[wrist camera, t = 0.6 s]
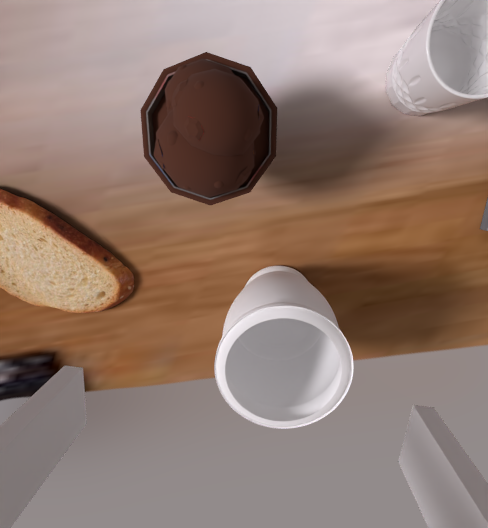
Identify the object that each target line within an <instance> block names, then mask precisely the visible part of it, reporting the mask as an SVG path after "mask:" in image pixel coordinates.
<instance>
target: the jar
mask: <svg viewBox="0 0 488 528" xmlns="http://www.w3.org/2000/svg"><path fill="white" fill-rule="evenodd" d="M352 377H353V356H352V352H351V349H350V346H349V344H348V342H347V340H346V338H345V336H344V335H343V333H342V332H341V330H340V329H339V326H338V323H337V320H336V317H335V315H334V312H333V310H332V308H331V306H330V305H329V303H328V302H327V300H326V299H325V297H324V296H323V295H322V294H321V293H320V292H319V291H318V290H317V289H316V288H315V287H314V286H313V285H312V284H310V283H309V282H308V280H307V279H306V278H305V277H304V276H303V275H302V274H301V273H300V272H298V271H297V270H295V269H293V268H290V267H286V266H270V267H267V268H264V269H262V270H260V271H258V272H257V273H255V274H254V275H253V276H252V277H251V278H250V279H249V281H248V282H247V284H246V285H245V287H244V289H243V290H242V291H241V292H240V294H239V295H238V296H237V297H236V299H235V300H234V302H233V304H232V305H231V307H230V309H229V312H228V314H227V317H226V320H225V324H224V329H223V336H222V339H221V341H220V343H219V345H218V348H217V352H216V357H215V378H216V382H217V385H218V388H219V390H220V392H221V394H222V396H223V398H224V399H225V401H226V402H227V403H228V404H229V406H230V407H232V409H233V410H234V411H236V412H237V413H238V414H239V415H241V416H242V417H244V418H245V419H247V420H249V421H251V422H253V423H256V424H259V425H262V426H266V427H271V428H280V429H281V428H282V429H285V428H286V429H287V428H296V427H301V426H305V425H308V424H311V423H313V422H316V421H318V420H320V419H321V418H323V417H325V416H326V415H328V414H329V413H330V412H332V411H333V410H334V409H335V408H336V407H337V406H338V405H339V404H340V402H341V401H342V400H343V398H344V397H345V395H346V394H347V392H348V389H349V387H350V384H351V381H352Z"/></svg>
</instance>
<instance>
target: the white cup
mask: <svg viewBox="0 0 488 528" xmlns="http://www.w3.org/2000/svg"><path fill="white" fill-rule="evenodd" d="M386 93H387V95H388V97H389V99H390V102H391V104H392V105H393V106H394V107H395V108H397V109H398V110H399V111H401V112H402V113H403V114H408V115H416V116H421V115H424V114H427V113H431V112H439V111H443V110H447V109H451V108H454V107H458V106H461V105H464V104H468V103H471V102H474V101H478V100H481V99H485V98H488V0H440V1H439V2H438V3H437V4H436V6H435V7H434V8H433V9H432V10H431V11H430V13H429V14H428V15H427V16H426V17H425V18H424V20H423V21H422V22H421V23H420V24H419V25H418V26H417V28H416V29H415V30H414V31H413V33H412V34H411V35H410V37H409V38H408V39H407V40H406V42H405V43H404V45H403V46H402V48H401V49H400V50H399V51H398V52H397V54H396V55H395V56H394V57H393V59H392V61H391V64H390V66H389V68H388V70H387V73H386Z"/></svg>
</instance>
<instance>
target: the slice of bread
mask: <svg viewBox="0 0 488 528" xmlns="http://www.w3.org/2000/svg"><path fill="white" fill-rule="evenodd" d="M0 288H2V289H4V290H5V291H7V292H8V293H9V294H11V295H13V296H16V297H18V298H20V299H21V300H23V301H26V302H28V303H31V304H33V305H36V306H51V307H54V308H58V309H61V310H64V311H66V312H72V313H89V312H99V311H103V310H106V309H109V308H112V307H114V306H116V305H117V304H119V303H121V302H122V301H124V300H125V299H126V298H127V297H128V296H129V295H130V294H131V293H132V291H133V288H134V276H133V274H132V272H131V271H130V270H129V268H128V267H126V266H124V265H123V264H122V263H121V262H120V261H119V260H118V259H117V258H116V257H114V256H113V255H112V254H111V253H110V252H109V251H108V250H106V249H104V248H103V247H102V246H100V245H99V244H98V243H97V242H95V241H93V240H91V239H89V238H88V237H87V236H85V235H84V234H83V233H81V232H79V231H78V230H76V229H75V228H74V227H72V226H71V225H69V224H68V223H66V222H65V221H63V220H62V219H60V218H59V217H57V216H56V215H54V214H53V213H51V212H49V211H47V210H46V209H44V208H42V207H40V206H39V205H37V204H36V203H34V202H32V201H30V200H28V199H26V198H23V197H18V196H16V195H14V194H11V193H9V192H7V191H4V190H2V189H0Z"/></svg>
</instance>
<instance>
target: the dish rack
mask: <svg viewBox="0 0 488 528" xmlns="http://www.w3.org/2000/svg"><path fill="white" fill-rule="evenodd" d="M480 229H482V230H486V231H488V199H487V203H486V207H485V211H484V215H483V219H482V223H481V227H480Z"/></svg>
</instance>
